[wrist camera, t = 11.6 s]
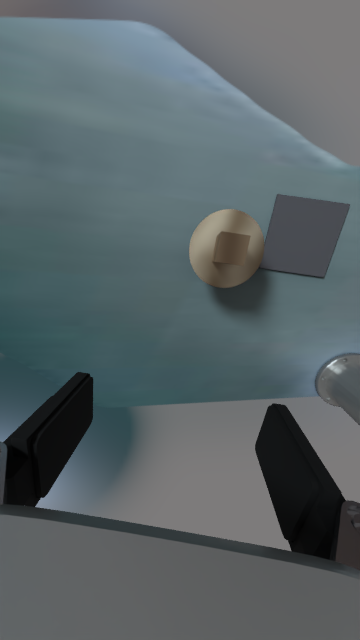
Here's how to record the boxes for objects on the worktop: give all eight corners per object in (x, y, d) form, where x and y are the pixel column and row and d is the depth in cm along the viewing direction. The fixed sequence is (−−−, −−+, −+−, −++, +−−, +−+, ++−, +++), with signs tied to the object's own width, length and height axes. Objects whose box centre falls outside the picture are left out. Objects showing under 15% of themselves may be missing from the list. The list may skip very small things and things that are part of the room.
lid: (271, 216, 28) (290, 206, 23) (251, 292, 31) (264, 299, 26) (195, 205, 28) (196, 191, 23) (184, 281, 32) (182, 285, 26)
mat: (348, 205, 33) (350, 204, 32) (322, 277, 36) (324, 277, 36) (277, 194, 33) (277, 194, 33) (258, 267, 37) (259, 267, 36)
